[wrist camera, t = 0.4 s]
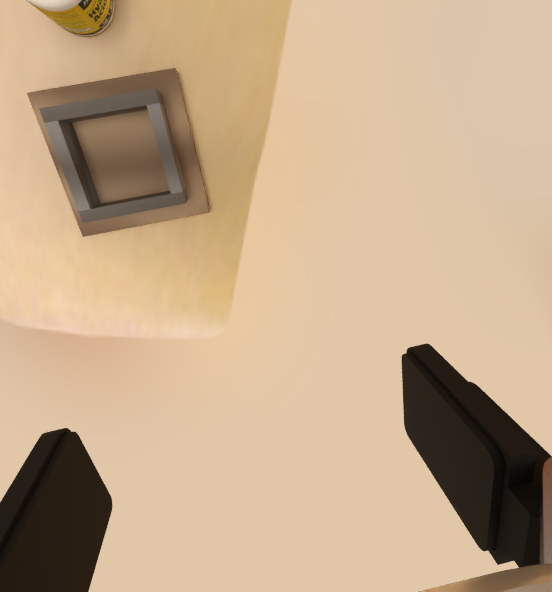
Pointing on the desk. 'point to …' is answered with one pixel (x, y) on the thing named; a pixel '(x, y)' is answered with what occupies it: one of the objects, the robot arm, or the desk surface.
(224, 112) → the desk surface
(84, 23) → the supplement bottle
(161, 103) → the socket stand
